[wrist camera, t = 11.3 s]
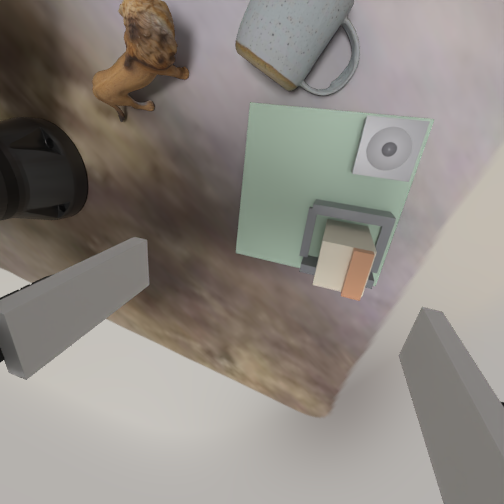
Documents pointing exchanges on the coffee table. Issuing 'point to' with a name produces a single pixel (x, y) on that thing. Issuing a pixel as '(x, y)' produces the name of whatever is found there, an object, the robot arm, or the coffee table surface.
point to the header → (352, 214)
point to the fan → (389, 147)
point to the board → (306, 179)
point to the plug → (345, 258)
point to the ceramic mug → (295, 39)
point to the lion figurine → (140, 55)
